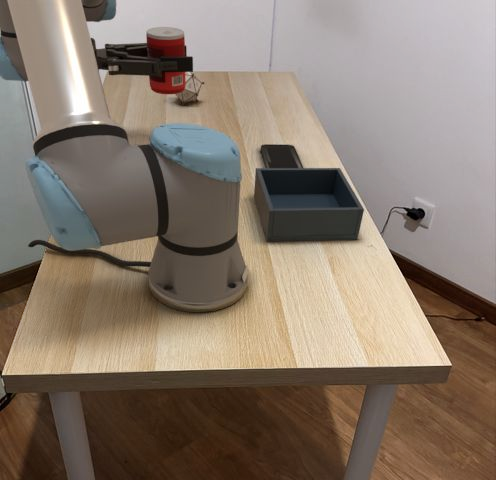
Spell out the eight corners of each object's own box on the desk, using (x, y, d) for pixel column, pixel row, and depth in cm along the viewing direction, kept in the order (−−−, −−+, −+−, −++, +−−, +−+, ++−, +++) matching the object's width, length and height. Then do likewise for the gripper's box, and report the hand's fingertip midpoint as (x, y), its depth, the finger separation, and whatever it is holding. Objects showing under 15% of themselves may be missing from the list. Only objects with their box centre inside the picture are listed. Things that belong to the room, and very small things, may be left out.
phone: (293, 144, 124) (305, 172, 113) (293, 149, 124) (305, 177, 113) (259, 144, 123) (268, 172, 112) (259, 149, 123) (268, 177, 113)
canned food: (188, 84, 119) (187, 28, 111) (182, 96, 113) (180, 37, 105) (154, 81, 119) (151, 25, 112) (146, 93, 113) (141, 34, 106)
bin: (266, 241, 94) (269, 210, 90) (253, 197, 106) (255, 168, 102) (357, 239, 96) (364, 209, 92) (334, 196, 108) (339, 167, 104)
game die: (181, 117, 146) (156, 87, 139) (191, 97, 150) (168, 66, 143) (205, 107, 140) (181, 74, 134) (215, 86, 144) (192, 53, 137)
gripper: (79, 64, 118) (182, 63, 123) (81, 95, 103) (197, 93, 108) (74, 25, 113) (181, 26, 118) (74, 52, 98) (197, 51, 103)
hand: (189, 58), depth 113 cm, fingers closed on canned food, 8 cm apart
